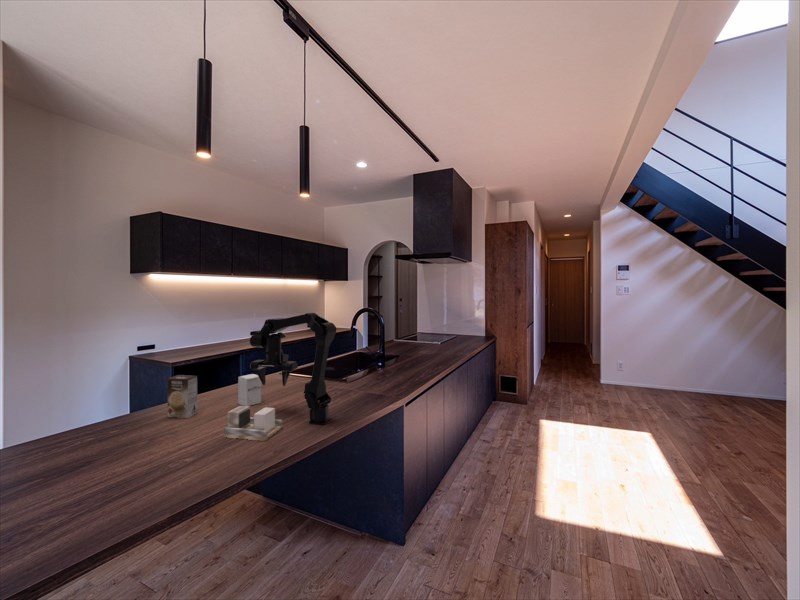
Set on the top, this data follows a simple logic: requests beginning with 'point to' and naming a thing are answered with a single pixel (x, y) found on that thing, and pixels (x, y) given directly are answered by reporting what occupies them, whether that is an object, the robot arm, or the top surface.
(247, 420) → the beige clamp block
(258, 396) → the supplement box
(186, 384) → the coffee box
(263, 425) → the block
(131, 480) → the top surface
